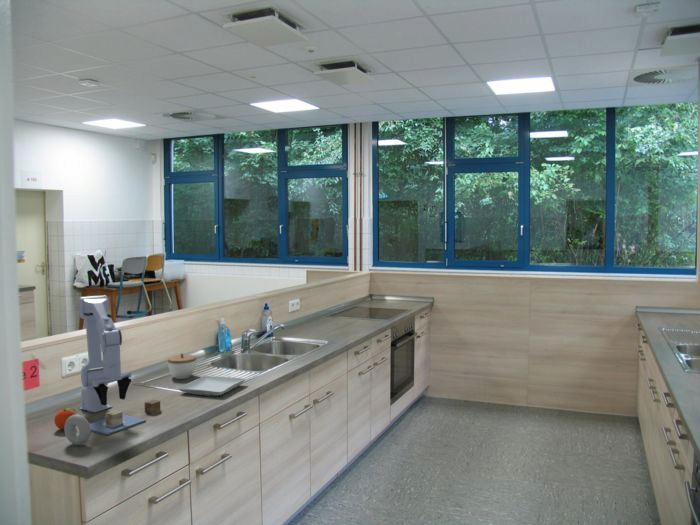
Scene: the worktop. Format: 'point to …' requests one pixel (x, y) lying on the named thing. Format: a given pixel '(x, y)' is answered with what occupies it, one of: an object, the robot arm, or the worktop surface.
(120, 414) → the maple block
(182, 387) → the salad plate
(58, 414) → the clementine
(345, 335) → the worktop surface
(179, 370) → the lidded bowl
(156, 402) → the walnut block
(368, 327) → the worktop surface
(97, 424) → the board
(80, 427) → the donut
